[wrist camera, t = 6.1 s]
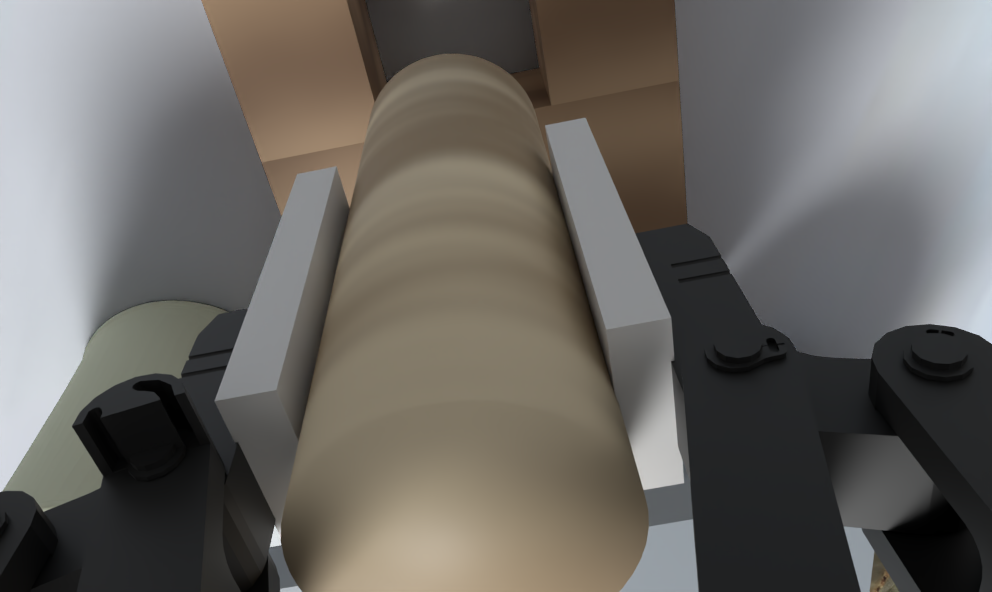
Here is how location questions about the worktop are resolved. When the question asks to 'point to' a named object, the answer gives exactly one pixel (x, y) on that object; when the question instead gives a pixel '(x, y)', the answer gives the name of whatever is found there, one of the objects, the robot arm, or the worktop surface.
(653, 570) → the grey open drawer
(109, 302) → the worktop surface
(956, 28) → the worktop surface
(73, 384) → the can
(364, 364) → the peg
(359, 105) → the socket block
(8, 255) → the worktop surface
